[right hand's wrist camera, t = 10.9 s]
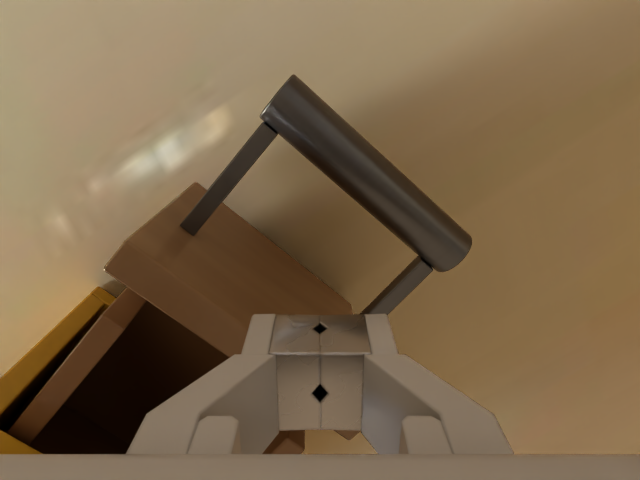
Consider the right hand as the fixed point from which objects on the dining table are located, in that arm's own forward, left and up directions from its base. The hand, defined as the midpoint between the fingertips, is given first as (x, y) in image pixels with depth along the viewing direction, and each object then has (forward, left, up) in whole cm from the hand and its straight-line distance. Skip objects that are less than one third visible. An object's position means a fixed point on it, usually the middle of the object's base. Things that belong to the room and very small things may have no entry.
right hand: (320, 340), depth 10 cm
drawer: (+6, +2, -11) cm, 12 cm away
